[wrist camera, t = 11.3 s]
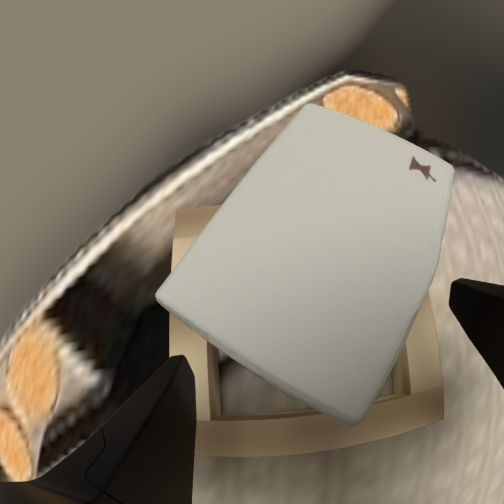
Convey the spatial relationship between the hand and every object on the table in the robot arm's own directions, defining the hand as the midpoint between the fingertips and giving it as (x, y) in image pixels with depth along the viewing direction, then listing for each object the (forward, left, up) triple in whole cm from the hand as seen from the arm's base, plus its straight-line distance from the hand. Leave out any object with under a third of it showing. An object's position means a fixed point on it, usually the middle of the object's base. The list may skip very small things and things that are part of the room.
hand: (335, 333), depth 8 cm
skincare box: (+2, 0, -8) cm, 8 cm away
